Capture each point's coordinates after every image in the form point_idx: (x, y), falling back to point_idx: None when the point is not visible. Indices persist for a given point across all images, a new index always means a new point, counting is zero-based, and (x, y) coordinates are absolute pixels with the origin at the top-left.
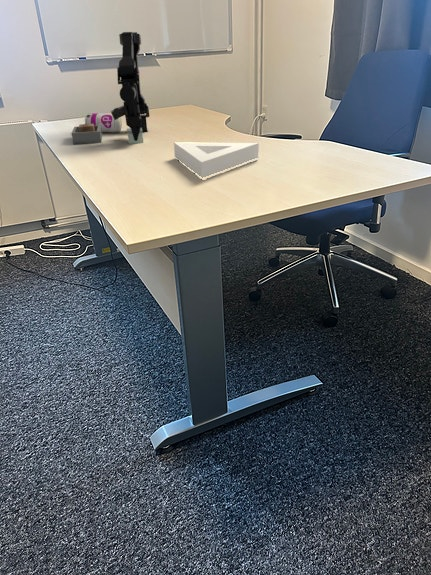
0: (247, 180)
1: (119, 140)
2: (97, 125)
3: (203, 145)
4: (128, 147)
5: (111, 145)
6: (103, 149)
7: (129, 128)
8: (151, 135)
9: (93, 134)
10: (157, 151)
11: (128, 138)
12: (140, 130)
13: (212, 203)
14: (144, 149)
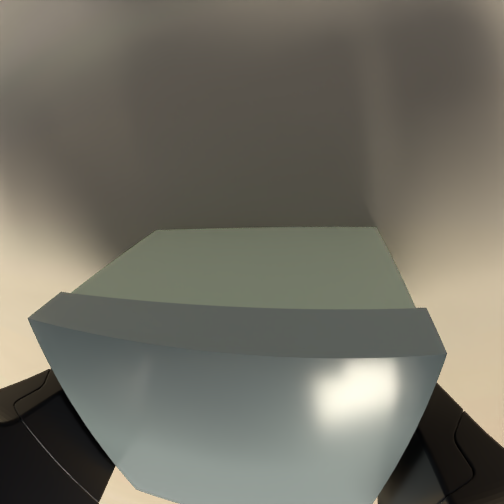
0: None
1: (438, 80)
2: None
3: None
4: (20, 227)
5: (107, 10)
6: (2, 17)
7: (404, 416)
8: (490, 435)
9: None
10: (4, 370)
11: (117, 261)
12: (127, 478)
13: None
14: (8, 330)
